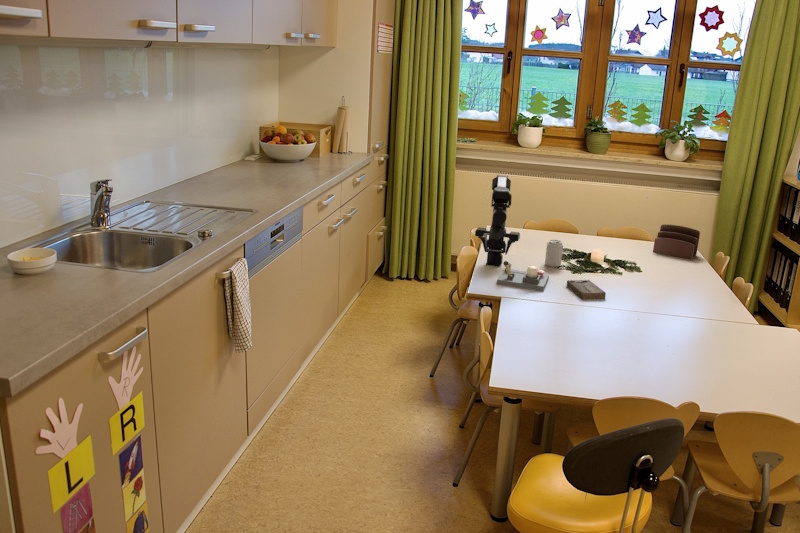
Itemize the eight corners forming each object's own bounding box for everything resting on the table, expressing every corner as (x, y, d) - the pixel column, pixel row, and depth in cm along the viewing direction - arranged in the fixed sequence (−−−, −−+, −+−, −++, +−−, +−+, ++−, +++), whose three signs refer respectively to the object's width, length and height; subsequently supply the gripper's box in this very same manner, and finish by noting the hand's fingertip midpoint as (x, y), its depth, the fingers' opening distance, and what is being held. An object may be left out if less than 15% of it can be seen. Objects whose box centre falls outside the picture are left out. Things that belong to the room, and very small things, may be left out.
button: (525, 277, 322) (526, 268, 320) (527, 274, 326) (528, 265, 324) (536, 278, 320) (537, 269, 319) (537, 275, 324) (538, 267, 323)
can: (560, 268, 350) (563, 243, 347) (544, 266, 352) (547, 242, 348) (560, 263, 358) (563, 239, 354) (544, 262, 359) (547, 238, 355)
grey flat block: (582, 300, 311) (582, 293, 310) (565, 286, 327) (566, 279, 326) (606, 299, 313) (606, 292, 312) (588, 285, 329) (589, 279, 328)
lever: (507, 278, 325) (502, 262, 324) (508, 277, 327) (503, 260, 326) (512, 277, 325) (507, 261, 323) (513, 275, 327) (508, 259, 325)
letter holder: (657, 248, 395) (661, 222, 391) (696, 255, 385) (701, 229, 381) (652, 252, 387) (656, 225, 382) (692, 259, 377) (697, 232, 373)
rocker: (527, 271, 330) (528, 267, 330) (528, 268, 334) (529, 265, 333) (542, 276, 329) (543, 273, 328) (543, 274, 332) (544, 270, 332)
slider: (504, 271, 334) (505, 265, 333) (506, 269, 337) (506, 263, 336) (509, 271, 334) (510, 265, 333) (510, 270, 336) (511, 264, 335)
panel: (495, 283, 324) (496, 274, 322) (503, 272, 340) (504, 263, 339) (543, 291, 318) (544, 281, 317) (548, 278, 334) (549, 269, 333)
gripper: (473, 219, 316) (470, 255, 321) (517, 225, 311) (514, 261, 316) (479, 214, 326) (476, 248, 331) (521, 219, 321) (518, 254, 326)
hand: (495, 253), depth 325 cm, fingers open, 9 cm apart
